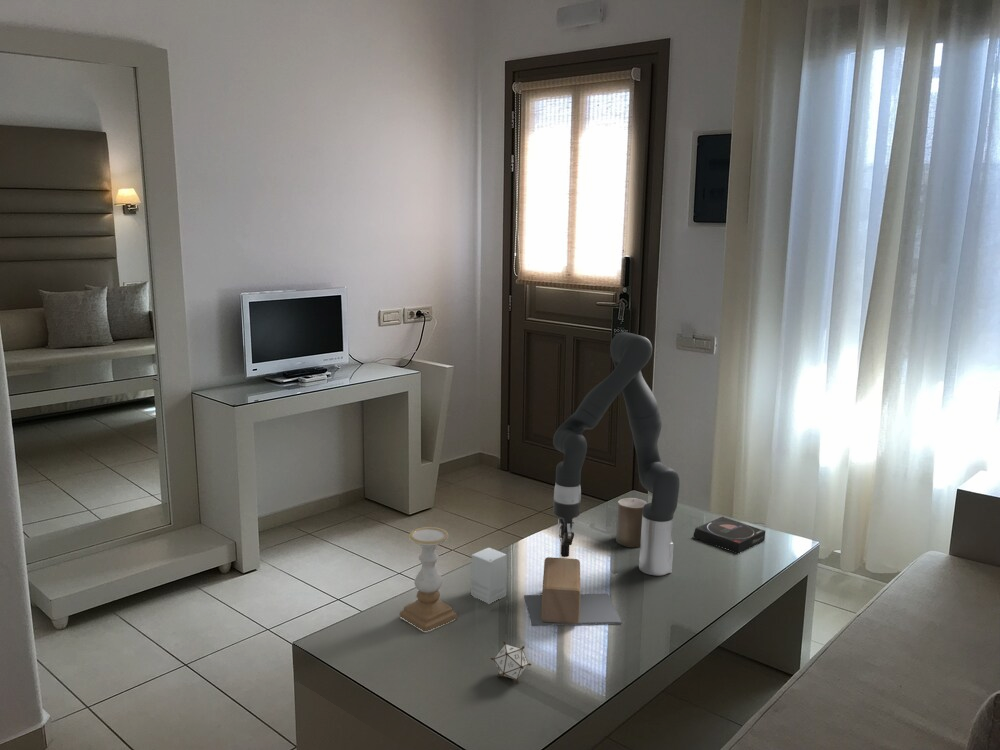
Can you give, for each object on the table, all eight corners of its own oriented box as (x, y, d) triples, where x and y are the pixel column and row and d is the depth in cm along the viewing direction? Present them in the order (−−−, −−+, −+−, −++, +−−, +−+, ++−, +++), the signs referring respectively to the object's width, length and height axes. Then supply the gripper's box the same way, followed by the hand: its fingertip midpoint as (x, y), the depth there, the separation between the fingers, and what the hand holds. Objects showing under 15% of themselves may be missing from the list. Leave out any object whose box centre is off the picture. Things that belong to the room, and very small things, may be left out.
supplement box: (507, 596, 226) (508, 554, 223) (488, 605, 220) (489, 562, 218) (488, 587, 231) (489, 546, 228) (470, 596, 225) (470, 554, 223)
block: (580, 557, 227) (580, 590, 207) (578, 590, 229) (579, 625, 209) (544, 555, 228) (542, 587, 208) (543, 588, 230) (540, 623, 210)
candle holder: (430, 604, 220) (431, 522, 215) (457, 619, 212) (458, 535, 207) (398, 618, 212) (398, 533, 207) (425, 634, 205) (425, 546, 200)
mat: (607, 595, 228) (608, 593, 228) (621, 623, 212) (621, 621, 212) (524, 596, 225) (524, 595, 225) (531, 625, 210) (531, 623, 210)
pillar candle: (647, 548, 260) (650, 504, 258) (617, 547, 260) (620, 503, 258) (642, 536, 270) (645, 494, 267) (613, 535, 270) (616, 493, 267)
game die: (502, 688, 188) (489, 646, 192) (536, 676, 189) (522, 634, 192) (498, 691, 180) (484, 646, 183) (534, 678, 180) (519, 634, 183)
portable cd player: (719, 526, 281) (720, 516, 280) (764, 542, 269) (765, 530, 268) (693, 538, 270) (693, 527, 269) (738, 555, 258) (739, 543, 257)
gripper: (584, 506, 220) (581, 565, 223) (576, 490, 233) (573, 546, 236) (557, 507, 219) (555, 566, 223) (550, 490, 232) (548, 546, 235)
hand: (564, 555), depth 229 cm, fingers closed
